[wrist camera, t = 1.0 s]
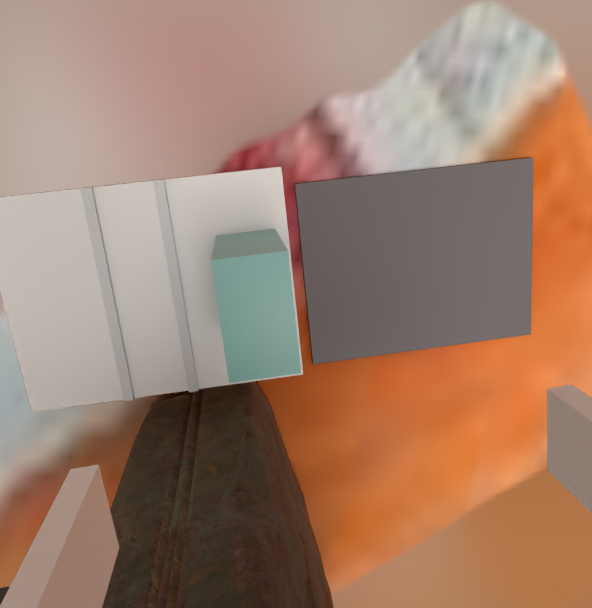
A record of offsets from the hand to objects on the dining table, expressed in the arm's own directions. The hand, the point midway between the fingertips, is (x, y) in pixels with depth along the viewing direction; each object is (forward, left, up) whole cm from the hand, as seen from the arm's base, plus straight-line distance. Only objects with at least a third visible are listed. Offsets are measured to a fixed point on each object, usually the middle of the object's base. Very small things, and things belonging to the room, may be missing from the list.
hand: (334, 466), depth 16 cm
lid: (-8, +2, -20) cm, 21 cm away
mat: (+11, 0, -27) cm, 29 cm away
